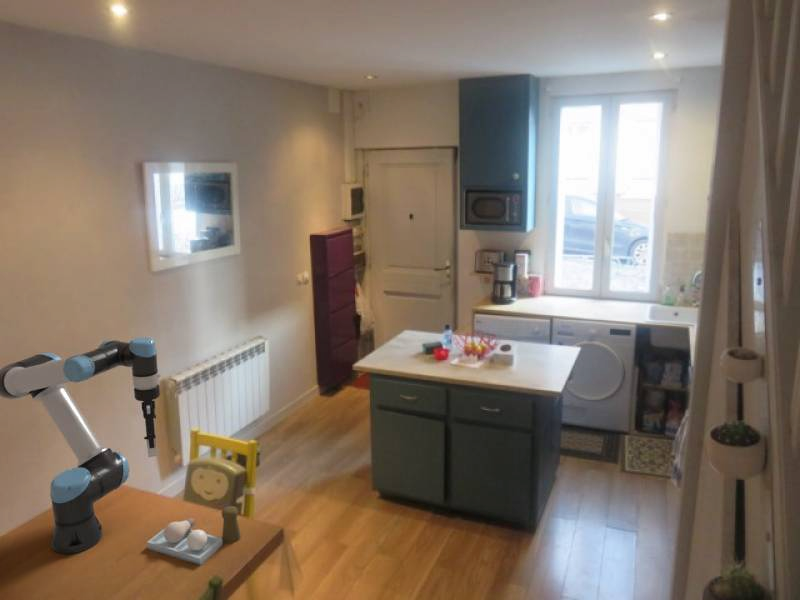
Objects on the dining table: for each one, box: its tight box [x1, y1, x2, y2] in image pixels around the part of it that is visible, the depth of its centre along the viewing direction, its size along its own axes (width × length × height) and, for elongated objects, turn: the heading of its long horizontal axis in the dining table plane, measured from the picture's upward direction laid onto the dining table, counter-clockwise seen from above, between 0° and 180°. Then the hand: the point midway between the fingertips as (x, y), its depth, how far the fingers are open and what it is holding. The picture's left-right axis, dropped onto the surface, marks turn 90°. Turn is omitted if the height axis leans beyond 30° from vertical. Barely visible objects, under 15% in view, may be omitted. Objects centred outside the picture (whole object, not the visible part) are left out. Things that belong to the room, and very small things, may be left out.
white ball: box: [187, 529, 207, 551], centre depth 200 cm, size 6×6×6 cm
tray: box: [146, 528, 224, 566], centre depth 203 cm, size 21×11×2 cm, turn 68°
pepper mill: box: [221, 505, 242, 544], centre depth 207 cm, size 6×6×11 cm
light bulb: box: [164, 517, 196, 543], centre depth 205 cm, size 7×7×11 cm
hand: (152, 446), depth 203 cm, fingers open, 13 cm apart
